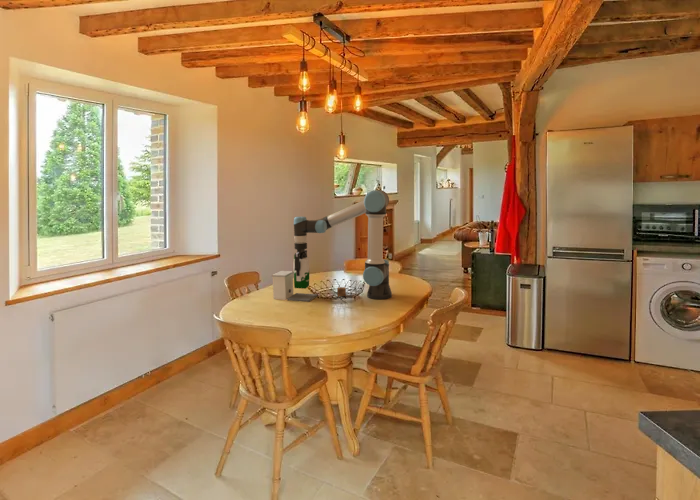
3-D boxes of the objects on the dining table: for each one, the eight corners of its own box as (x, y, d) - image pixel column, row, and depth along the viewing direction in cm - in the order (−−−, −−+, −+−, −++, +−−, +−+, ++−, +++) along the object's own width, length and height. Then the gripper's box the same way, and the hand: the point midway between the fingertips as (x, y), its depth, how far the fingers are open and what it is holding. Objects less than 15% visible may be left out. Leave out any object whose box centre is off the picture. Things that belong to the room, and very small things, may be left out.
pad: (317, 295, 273) (317, 294, 273) (309, 301, 259) (309, 300, 259) (296, 294, 277) (296, 293, 276) (287, 300, 263) (287, 298, 263)
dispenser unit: (294, 294, 276) (293, 271, 274) (286, 299, 264) (285, 275, 262) (281, 294, 279) (280, 270, 276) (272, 299, 267) (271, 274, 264)
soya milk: (297, 285, 272) (296, 253, 269) (311, 285, 270) (310, 253, 267) (292, 288, 264) (291, 255, 261) (306, 289, 262) (306, 256, 259)
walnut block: (345, 295, 274) (345, 287, 273) (345, 297, 269) (345, 289, 268) (337, 295, 274) (337, 287, 273) (337, 297, 269) (337, 289, 268)
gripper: (301, 240, 274) (302, 275, 277) (287, 244, 254) (288, 282, 257) (312, 240, 272) (313, 275, 275) (299, 245, 252) (300, 283, 255)
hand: (301, 279), depth 266 cm, fingers closed on soya milk, 9 cm apart
